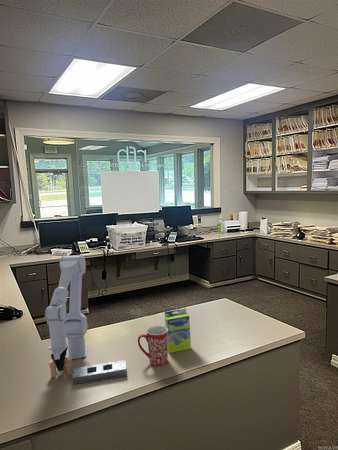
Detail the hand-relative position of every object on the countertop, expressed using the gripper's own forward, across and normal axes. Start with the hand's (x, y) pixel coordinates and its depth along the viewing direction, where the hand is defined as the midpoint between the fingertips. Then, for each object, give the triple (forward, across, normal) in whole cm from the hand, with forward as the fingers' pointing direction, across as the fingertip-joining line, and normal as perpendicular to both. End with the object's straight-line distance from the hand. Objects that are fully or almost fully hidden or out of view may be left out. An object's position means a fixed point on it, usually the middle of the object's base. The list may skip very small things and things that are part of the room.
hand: (61, 368), depth 130 cm
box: (+3, -5, +49) cm, 49 cm away
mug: (+3, +2, +37) cm, 37 cm away
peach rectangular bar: (+3, 0, 0) cm, 3 cm away
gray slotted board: (+3, +6, +15) cm, 16 cm away
